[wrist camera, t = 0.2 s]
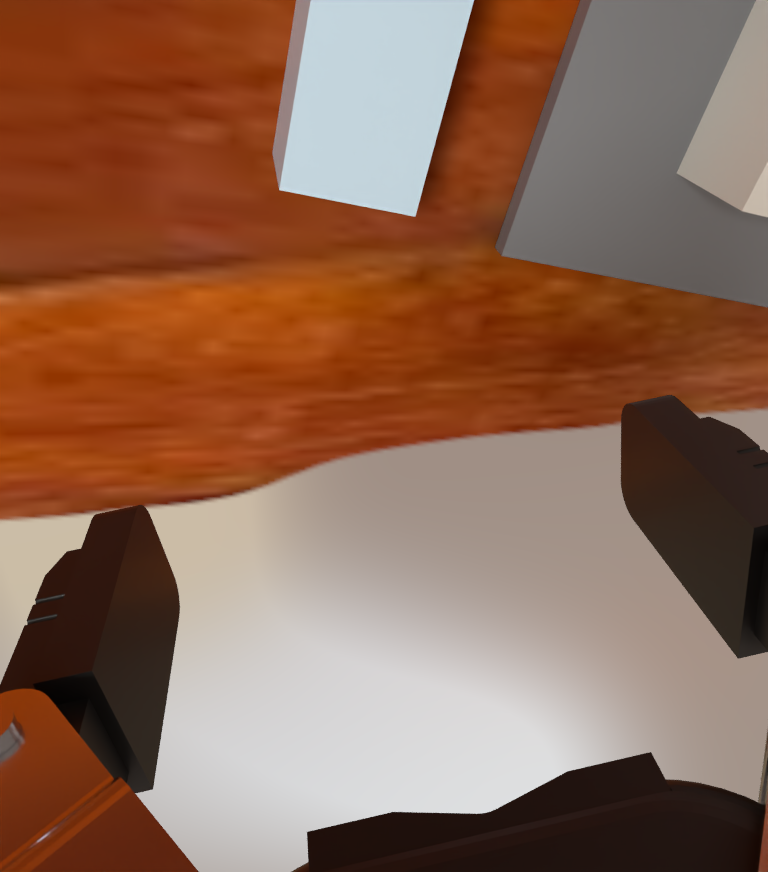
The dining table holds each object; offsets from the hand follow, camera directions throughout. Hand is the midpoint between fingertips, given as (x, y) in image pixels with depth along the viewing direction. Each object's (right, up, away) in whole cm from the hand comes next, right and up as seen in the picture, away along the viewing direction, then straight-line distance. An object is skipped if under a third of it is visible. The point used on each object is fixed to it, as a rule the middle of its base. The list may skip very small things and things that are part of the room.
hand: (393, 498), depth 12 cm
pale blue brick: (-1, +15, +16) cm, 22 cm away
